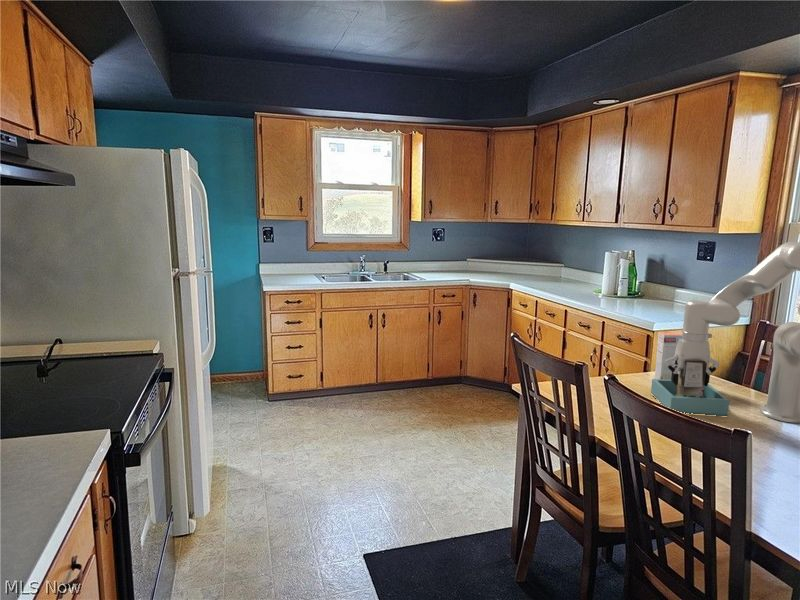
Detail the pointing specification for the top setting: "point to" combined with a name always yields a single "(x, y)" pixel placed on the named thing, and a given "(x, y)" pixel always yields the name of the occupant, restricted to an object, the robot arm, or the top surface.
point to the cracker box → (666, 353)
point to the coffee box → (691, 379)
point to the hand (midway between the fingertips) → (689, 384)
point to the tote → (690, 399)
